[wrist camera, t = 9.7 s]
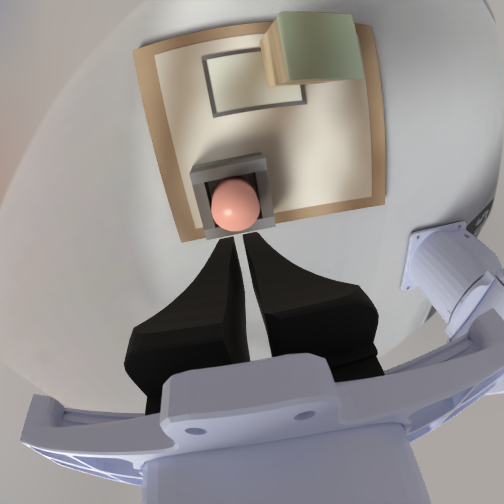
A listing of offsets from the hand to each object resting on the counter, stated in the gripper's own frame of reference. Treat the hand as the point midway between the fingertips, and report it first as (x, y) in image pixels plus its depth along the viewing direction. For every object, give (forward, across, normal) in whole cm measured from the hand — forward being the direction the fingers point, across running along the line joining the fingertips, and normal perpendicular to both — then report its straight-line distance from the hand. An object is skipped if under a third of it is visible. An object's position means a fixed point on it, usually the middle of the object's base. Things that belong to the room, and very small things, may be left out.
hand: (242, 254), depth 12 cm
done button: (+8, 0, 0) cm, 8 cm away
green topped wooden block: (+9, -6, -9) cm, 14 cm away
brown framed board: (+10, -4, -4) cm, 12 cm away
